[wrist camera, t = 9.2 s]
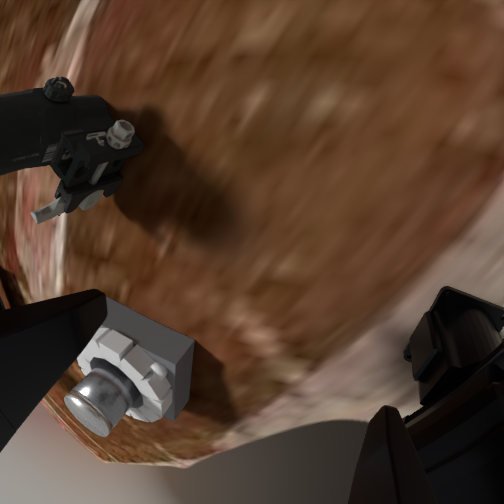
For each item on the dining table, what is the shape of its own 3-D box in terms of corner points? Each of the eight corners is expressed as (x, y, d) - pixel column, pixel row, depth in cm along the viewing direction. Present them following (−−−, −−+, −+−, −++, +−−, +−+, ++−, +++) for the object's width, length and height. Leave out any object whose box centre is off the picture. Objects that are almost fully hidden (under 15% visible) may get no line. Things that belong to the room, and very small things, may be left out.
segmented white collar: (195, 338, 26) (163, 378, 22) (188, 401, 31) (165, 436, 27) (102, 292, 29) (65, 320, 24) (111, 359, 34) (84, 386, 29)
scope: (-33, 272, 12) (-74, 163, 11) (109, 202, 24) (55, 128, 23) (-29, 170, 8) (-60, 62, 7) (159, 128, 20) (92, 56, 19)
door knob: (116, 344, 26) (68, 391, 20) (155, 382, 26) (113, 434, 20) (102, 361, 28) (60, 402, 22) (136, 394, 28) (99, 439, 22)
